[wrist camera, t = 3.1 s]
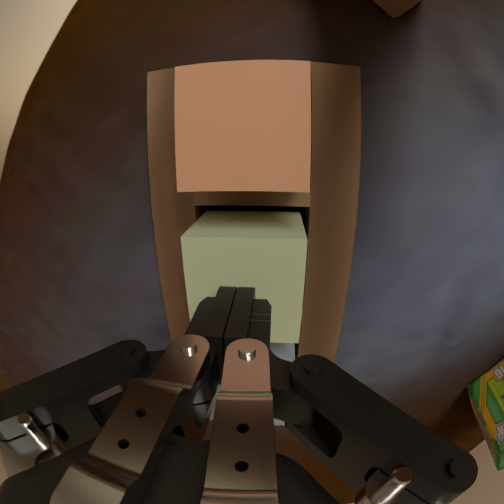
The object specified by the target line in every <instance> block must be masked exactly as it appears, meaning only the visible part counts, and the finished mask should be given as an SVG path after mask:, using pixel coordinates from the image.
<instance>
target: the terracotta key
mask: <svg viewBox="0 0 504 504" xmlns="http://www.w3.org/2000/svg"><path fill="white" fill-rule="evenodd" d="M174 112H175V157H176V179H177V192H197V191H274V192H308V193H310V166H311V76H310V61H300V60H241V61H224V62H212V63H202V64H193V65H185V66H178V67H175V92H174Z"/></svg>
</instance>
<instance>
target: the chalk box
mask: <svg viewBox="0 0 504 504" xmlns="http://www.w3.org/2000/svg"><path fill="white" fill-rule="evenodd" d="M467 391H468V395H469V398H470V402H471V405H472V409H473V412H474V415H475V417H476V419H477V422H478V424H479V426H480V428H481V430H482V433H483V435H484V437H485V440H486V442H487V445H488V447H489V450H490V452H491V455H492V457H493V460H494V462H495V465H496V468H497V470H502V469H504V358H503V359H502V360H501V361H499V362H498V363H497V364H496V365H495V366H493V367H492V368H491V369H489V370H488V371H487V372H486V373H484V374H483V375H482V376H480V377H479V378H478V379H476V380H475V381H473V382H472V383H470V384H469V385H468V386H467Z"/></svg>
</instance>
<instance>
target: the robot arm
mask: <svg viewBox="0 0 504 504" xmlns="http://www.w3.org/2000/svg"><path fill="white" fill-rule="evenodd" d="M271 308H272V306H271V305H270V303H269V302H268V300H267V299H255V287H238V288H237V287H231V286H219V289H218V291H217V294H216V296H215V297H206V298H205V299H203V300H202V301H201V302H199V304H198V306H197V309H196V311H195V313H194V315H193V317H192V319H191V321H190V324H189V326H188V328H187V330H186V332H185V334H184V335H182V336H179V337H177V338H175V339H174V340H173V341H172V342H171V343H170V344H169V346H168V348H167V349H166V350H160V351H149V352H147V351H146V347H145V345H144V344H143V343H141V342H140V341H137V340H124V341H120V342H118V343H116V344H113V345H111V346H109V347H107V348H104V349H102V350H100V351H97V352H95V353H93V354H90V355H88V356H86V357H84V358H81V359H79V360H77V361H74V362H72V363H69V364H67V365H65V366H62V367H60V368H58V369H55V370H53V371H50V372H48V373H46V374H43V375H41V376H38V377H36V378H33V379H31V380H29V381H26V382H24V383H21V384H19V385H16V386H14V387H11V388H9V389H6V390H4V391H1V392H0V451H1V455H2V459H3V463H4V466H5V470H6V473H7V476H8V478H7V479H6V480H5V481H4V482H3V483H2V484H1V486H0V504H340V503H338V502H337V501H336V500H335V499H334V498H333V497H332V496H331V495H330V494H329V493H328V492H327V491H326V490H325V489H324V488H323V487H322V486H321V485H320V484H319V483H318V482H317V481H316V480H315V479H314V478H313V477H312V476H311V475H310V474H309V473H308V472H307V471H306V470H305V469H304V468H303V467H302V466H300V465H299V464H298V463H297V462H295V461H293V460H292V459H290V458H288V457H286V456H284V455H282V454H279V453H276V452H275V433H274V419H278V420H281V421H284V423H285V426H286V427H287V429H288V430H289V431H290V432H291V433H292V434H293V435H294V436H295V437H296V438H298V439H299V440H300V441H301V442H302V443H303V444H304V445H305V446H306V447H307V448H308V449H309V450H310V451H311V452H312V453H313V454H314V455H316V456H317V457H318V458H319V459H320V460H321V461H322V462H323V463H324V464H325V465H327V466H328V467H329V468H330V469H331V470H332V471H333V472H335V473H336V474H337V475H338V476H339V477H340V478H342V479H343V480H344V481H345V482H346V483H347V484H349V485H350V486H351V487H352V488H353V489H355V490H356V491H357V492H358V493H357V495H356V497H355V504H449V503H450V502H452V501H453V500H454V499H456V498H457V497H458V496H460V495H461V494H462V493H463V492H465V491H466V490H467V489H468V488H470V486H472V484H473V483H474V482H475V480H476V477H477V473H478V467H477V463H476V461H475V459H474V458H473V456H472V455H470V454H469V453H468V452H466V451H465V450H463V449H461V448H460V447H458V446H456V445H455V444H453V443H452V442H450V441H448V440H447V439H445V438H444V437H442V436H440V435H439V434H437V433H436V432H434V431H433V430H431V429H429V428H428V427H426V426H425V425H423V424H422V423H420V422H419V421H417V420H416V419H414V418H413V417H411V416H409V415H408V414H406V413H405V412H403V411H402V410H400V409H399V408H397V407H396V406H395V405H393V404H392V403H390V402H389V401H387V400H386V399H384V398H383V397H381V396H380V395H378V394H377V393H375V392H374V391H373V390H371V389H370V388H368V387H367V386H365V385H364V384H362V383H361V382H360V381H358V380H357V379H355V378H354V377H353V376H351V375H350V374H348V373H347V372H345V371H344V370H343V369H341V368H340V367H338V366H337V365H336V364H334V363H333V362H332V361H330V360H329V359H327V358H325V357H323V356H320V355H315V354H308V355H303V356H300V357H298V358H296V359H295V360H294V361H293V362H291V361H287V360H284V359H281V358H279V357H277V356H276V355H275V354H273V352H272V351H271V349H270V335H271ZM118 384H119V385H120V388H121V390H122V391H121V392H119V393H117V394H115V395H113V396H111V397H109V398H107V399H105V400H103V401H101V402H98V403H96V404H94V405H89V404H87V403H88V401H89V399H90V398H91V397H93V396H95V395H97V394H99V393H102V392H104V391H106V390H108V389H110V388H112V387H114V386H116V385H118ZM218 385H221V391H220V392H217V395H216V391H217V387H218ZM214 405H215V409H214V416H213V424H212V431H211V439H210V440H208V441H203V436H204V434H205V431H206V428H207V425H208V422H209V419H210V416H211V414H212V411H213V408H214Z"/></svg>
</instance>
